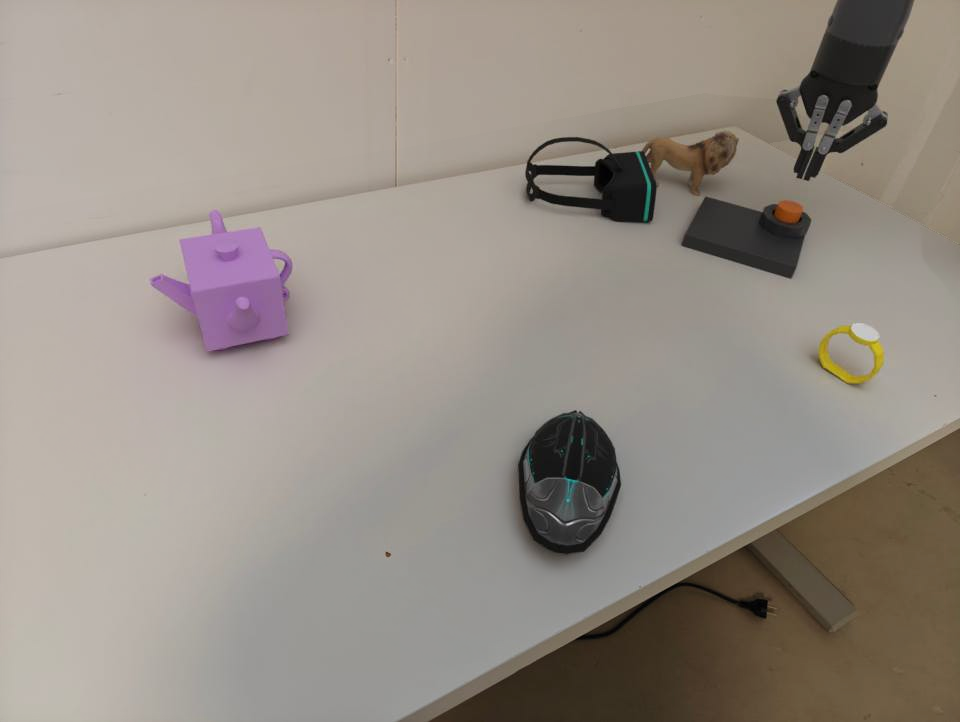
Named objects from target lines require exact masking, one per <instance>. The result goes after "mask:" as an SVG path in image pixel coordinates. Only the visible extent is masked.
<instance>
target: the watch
mask: <svg viewBox="0 0 960 722" xmlns="http://www.w3.org/2000/svg"><path fill="white" fill-rule="evenodd" d="M838 334H845V335H846V334H847V335H848V336H849V338H850V339H851V340H852V341H854V342H855V343H857V344H859V345H862V346H867V347H869V349H870V351H871V352H872V355H873V360H874V361H873V364H874V366H873V368H872V370H871V371H870V372H869V373H867V374H865V375H852V373H849V372H848V371H847V370H845V369H843V368H842V367H841V366H840V365H838V364H836V363H835V362H834V361H832V359H831V357H830V354H829V351H828V350H829V341H830V340H831V338H832V337H833V336H836V335H838ZM817 353H818V358H819V361H820V363H821V366H822V368H823V369H826V370H827V371H828V372H830V373H832V374H834V375H835V376H836V377H837V378H838V379H841V380H842V381H843V382H845V383H846V384H851V385H852V384H853V385H860V384H864V383H865V382H868V381H869V380H872V379H873V378H874V377H875V376H876V375H877V374H878V373H879V372H880V371H881V369H882V367H883V365H884V363H885V356H884V355H885V354H884V353H885V351H884V348H883V346H882V345H881V343H880V333H879V332H878V331H877V330H876V329H875V328H874V327H873V326H871V325H868V324H866V323H862V322H856V323H855V322H854V323H853V324H851V325H847V324H846V325H842V326H839V327H836V328H834V329H832V330H831V331H829V332H828V333H827V334H825V335H824V337H823V338H822V339H821V341H820V342H819V344H818V352H817Z"/></svg>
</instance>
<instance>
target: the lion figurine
mask: <svg viewBox="0 0 960 722" xmlns="http://www.w3.org/2000/svg"><path fill="white" fill-rule="evenodd" d="M739 141H740V138H739V137H737V136H736V134H734V133H732V132H731V131H729V130H723V131H718V132H715V134H714V135H713V136H711V137H708V138H707V139H702V140H700V141H699V142H696V143H694V144H690V145H689V144H683V143H680V142H676V141H675V140H673V139H671V138H669V137H666V136H659V137H655V138H652V139H650V140H648V142H647V143H646V144H645V145H644V146H643V148H642V149H641V151H644V153H645V156H646V158H647V161H648V163H649V164H650V169H651V171H652V174H653V176H654V177H655V176H656V173H657V172H658V170H659V169H660V167H662V164H663V162H664V161H665V162H666V163H667V164H668V165H669V166H670V167H672V168H673V169H675V170H677V171H681V172H689V173H690V176H689V178H688V181H687V182H688V186H689V187H690V190H691V191H690V193H691V194H692V195H693V196H695V197H699V196H700V195H701V191H700V190H698V189H699V186H700V185H701V183H702V181H703V179H704V176H707V175H712V176H714V175H715V174H718V173H719V172H720V171H721V170H722V169H723V168H725V167H726V166H728V165H729V164H730V163H731V162H732V160H733V159H734V158H735V156H736V154H737V150H738V149H737V146H738V144H739ZM649 149H650V150H649ZM648 150H649V152H648ZM647 152H648V153H647ZM646 153H647V154H646ZM655 181H656V185H657V188H659V186H660V183H659V181H657V180H655Z"/></svg>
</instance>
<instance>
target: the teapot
mask: <svg viewBox="0 0 960 722" xmlns="http://www.w3.org/2000/svg"><path fill="white" fill-rule="evenodd" d="M209 221H210V224H211V225H210V227H211V234H205V235H199V236H193V237H188V238H180V239H179V244H180V249H181V253H182V257H183V261H184V262H183V263H184V266H185V267H184V268H185V271H186V275H187V279H188V283H186V282H184V281H180V280H178V279H175V278H172V277H170V276H166V275H164V274H163V273H160V274H157V275H156V276H153V277H150V278H149V284H150V286H151V287H152V288H154V289H156V290H157V291H158V292H160V293H161V294H163V295H164V296H165V297H166V298H169V300H171V301H172V302H174V303H176V304H177V305H178V306H180V307H182V308H183V309H184V310H186V311H187V312H189V313H191V314H192V315H193V316H194V317H197V320H198V324H199V327H200V331H201V336H202V339H203V343H204V347H205V351H206V352H211V351H216V350H217V351H224V350H227V349H228V348H231V347H236V346H240V345H245V344H249V343H254V342H259V341H265V340H266V341H272V340H274V339H277V338H278V337H283V336H288V335H289V328H288V321H287V314H286V313H287V312H286V308H285V302H286V301H288V300H289V298H290V290H289V288H288V287H287V286H286V285H285V284H286V283H287V281H288V279H289V278H290V276H291V274H292V271H293V261H292V259H291V257H290V256H289V255H288V254H287V253H286V252H284V251H282V250H279V249H273V248H272V249H270V248H269V245H268V243H267V240H266V238H265V235H264V232H263V230H262V227H253V228H246V229H238V230H233V231H231V230H230V231H228V230H227V228H226V225H225V223H224V220H223V217H222V214H221V212H220V211H219V210H218V209H212V210H210V212H209ZM274 259H275V260H281V261H282V262H284V266H283V268H282V271H281V272H280V273H279V270H278V268H277V265H276V263H275V260H274Z"/></svg>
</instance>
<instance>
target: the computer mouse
mask: <svg viewBox="0 0 960 722" xmlns="http://www.w3.org/2000/svg"><path fill="white" fill-rule="evenodd" d="M517 468H518V469H517V470H518V472H517V473H518V494H519V497H518V498H519V503H520V508H521V513H522V514H521V515H522V518H523V522H524V523H525V526H526V528H527V530H528V532H529V534H530V537H531V538H532V540H533V542H535V543H537V544H539V545H540V546H542V547H543V548H544V549H546V550H548V551H550V552H553V553H555V554H561V555H570V554H577V553H583V552H586V550H587V549H589V547H590V546H592V544H593V543H594V542H595V541H596V540H597V539H598V538H599V537H601V535H602V533H603V531H604V530H605V528H606V526H607V524H608V523H609V521H610V519H611V516H612V514H613V511H614V508H615V504H616V502H617V499H618V496H619V493H620V491H621V487H622V481H621V473H620V472H621V471H620V467H619V464H618V461H617V454H616V448H615V446H614V444H613V441H612V440H611V439H610V437H609V435H608V434H607V432H606V431H605V430H604V428H603V427H602V426H601V425H600V424H599V423H598V422H597V421H596V420H595V419H594V418H592V417H590V416H587V415H586V414H585V413H583V412H582V411H581V410H579V411H578V410H577V409H575V410H572V411H569V412H563V413H560V414H559V415H556V416H553V417H552V418H550V419H549V420H547V421H545V422H544V423H543V424H542V425H541V426H540V427H538V429H537V430H536V432H535V433H534V435H532V437H531V438H530V440H529V441H528V442H527V444H526V445H525V446H524V447H523V450H522V452H521V455H520V458H519V461H518V464H517Z"/></svg>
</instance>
